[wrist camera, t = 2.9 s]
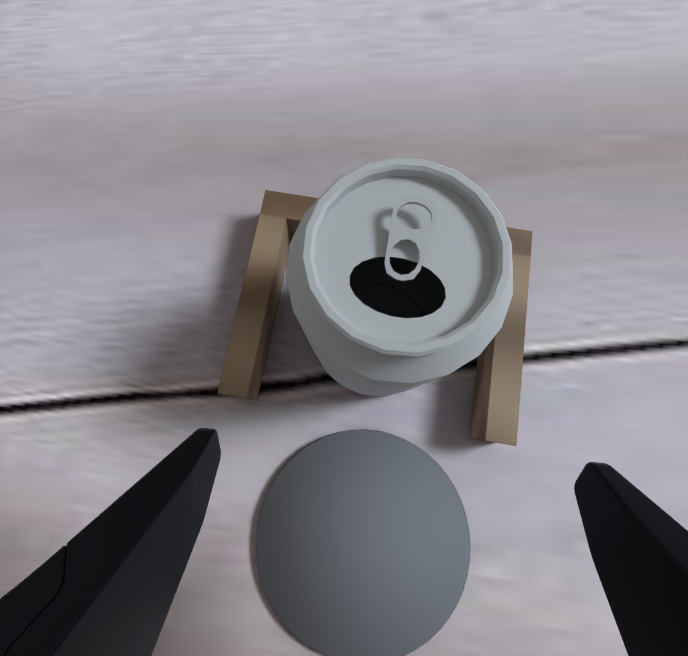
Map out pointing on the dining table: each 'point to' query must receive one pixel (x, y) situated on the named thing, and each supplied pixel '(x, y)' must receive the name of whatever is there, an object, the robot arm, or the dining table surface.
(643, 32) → the dining table surface
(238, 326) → the wooden frame
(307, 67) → the dining table surface
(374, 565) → the pad
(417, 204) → the can
